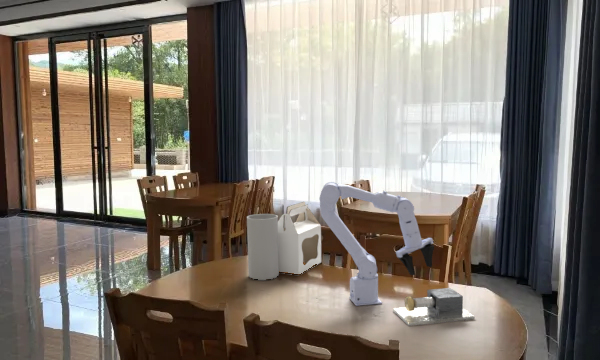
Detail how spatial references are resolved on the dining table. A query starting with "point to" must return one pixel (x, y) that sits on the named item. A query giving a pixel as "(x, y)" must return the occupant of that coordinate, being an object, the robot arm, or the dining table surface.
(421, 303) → the shaft
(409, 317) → the bearing block
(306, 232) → the gable box
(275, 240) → the cylinder vase
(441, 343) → the dining table surface
